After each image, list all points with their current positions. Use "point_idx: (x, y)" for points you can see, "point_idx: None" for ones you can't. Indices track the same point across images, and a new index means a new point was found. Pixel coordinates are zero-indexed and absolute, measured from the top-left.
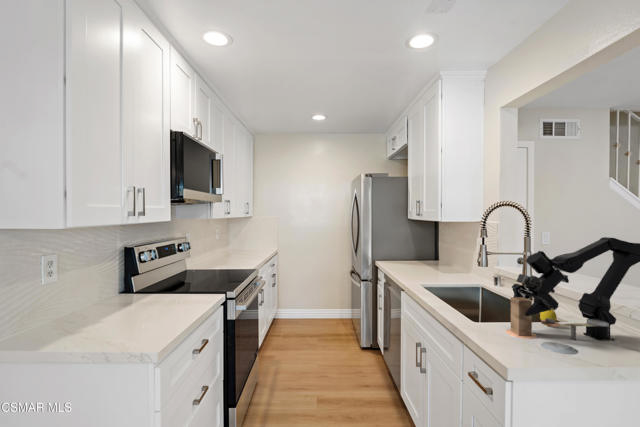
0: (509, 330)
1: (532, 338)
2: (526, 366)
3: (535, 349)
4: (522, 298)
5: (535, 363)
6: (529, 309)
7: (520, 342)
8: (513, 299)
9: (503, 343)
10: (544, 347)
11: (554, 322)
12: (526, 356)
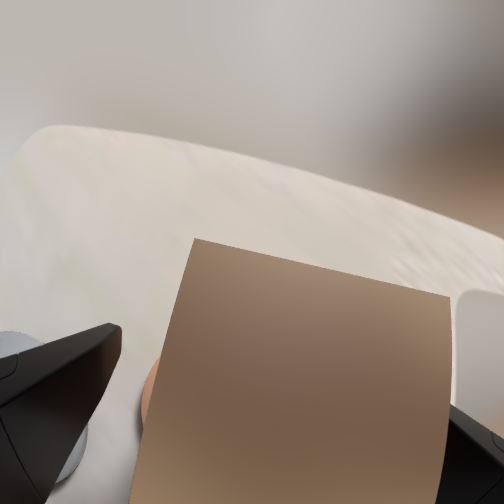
0: None
1: (144, 409)
2: (13, 164)
3: (65, 323)
4: (354, 486)
5: (4, 203)
6: (59, 346)
7: (158, 332)
8: (365, 289)
9: (173, 233)
10: (30, 342)
11: None
12: (42, 218)
